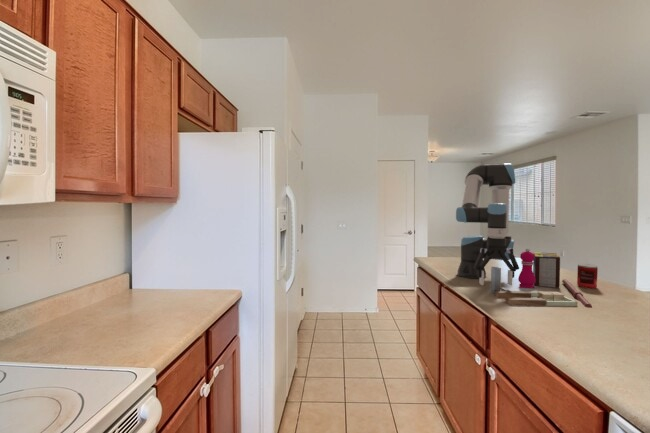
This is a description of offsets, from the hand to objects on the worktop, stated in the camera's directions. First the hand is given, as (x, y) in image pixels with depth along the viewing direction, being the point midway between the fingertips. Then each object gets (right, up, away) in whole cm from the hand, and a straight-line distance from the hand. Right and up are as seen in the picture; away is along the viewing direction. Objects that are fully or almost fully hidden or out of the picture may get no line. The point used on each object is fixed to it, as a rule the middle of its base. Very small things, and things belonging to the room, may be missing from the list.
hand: (495, 284), depth 144 cm
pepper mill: (+22, -5, +12) cm, 25 cm away
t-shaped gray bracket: (+2, -5, 0) cm, 6 cm away
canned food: (+54, -5, +15) cm, 56 cm away
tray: (+17, -6, -11) cm, 21 cm away
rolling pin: (+37, -5, +1) cm, 37 cm away
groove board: (+4, -6, -10) cm, 12 cm away
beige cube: (+15, -5, -11) cm, 19 cm away
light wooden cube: (+19, -5, -11) cm, 23 cm away
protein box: (+37, -4, +21) cm, 43 cm away
